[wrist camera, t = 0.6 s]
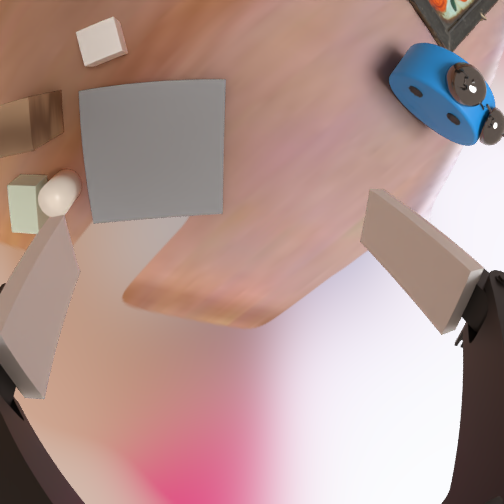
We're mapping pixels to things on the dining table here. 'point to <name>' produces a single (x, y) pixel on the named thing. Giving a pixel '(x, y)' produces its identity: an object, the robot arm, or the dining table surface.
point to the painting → (451, 18)
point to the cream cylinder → (60, 193)
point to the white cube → (101, 42)
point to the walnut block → (30, 123)
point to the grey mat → (154, 149)
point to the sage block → (26, 203)
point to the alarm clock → (447, 95)
